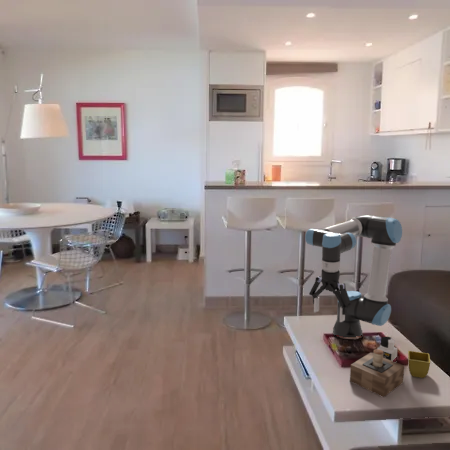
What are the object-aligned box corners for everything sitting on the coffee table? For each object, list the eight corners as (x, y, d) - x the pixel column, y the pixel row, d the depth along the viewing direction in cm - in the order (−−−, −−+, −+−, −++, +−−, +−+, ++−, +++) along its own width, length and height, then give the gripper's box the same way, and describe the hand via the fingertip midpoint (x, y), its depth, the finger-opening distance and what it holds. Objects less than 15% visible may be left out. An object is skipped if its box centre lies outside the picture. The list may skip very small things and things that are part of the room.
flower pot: (406, 377, 200) (408, 359, 198) (406, 368, 208) (408, 350, 206) (428, 381, 197) (430, 362, 195) (427, 371, 205) (429, 353, 203)
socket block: (369, 368, 208) (370, 351, 206) (402, 382, 196) (404, 365, 195) (349, 381, 198) (350, 363, 196) (383, 397, 186) (385, 378, 184)
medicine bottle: (375, 362, 213) (377, 338, 211) (382, 356, 219) (383, 333, 216) (390, 367, 209) (392, 343, 206) (396, 361, 214) (398, 338, 211)
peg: (375, 365, 198) (376, 348, 197) (384, 368, 195) (385, 351, 194) (370, 368, 196) (371, 351, 194) (379, 372, 193) (380, 354, 191)
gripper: (302, 264, 200) (301, 309, 205) (350, 278, 182) (348, 328, 187) (312, 261, 205) (311, 305, 210) (361, 274, 187) (358, 322, 191)
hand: (328, 316), depth 198 cm, fingers open, 13 cm apart
